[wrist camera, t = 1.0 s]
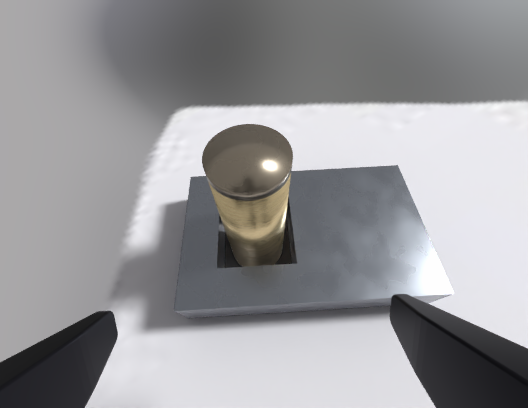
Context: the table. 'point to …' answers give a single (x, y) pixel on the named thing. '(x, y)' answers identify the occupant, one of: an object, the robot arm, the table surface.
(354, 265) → the plate
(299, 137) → the table surface
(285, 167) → the gold metal can
